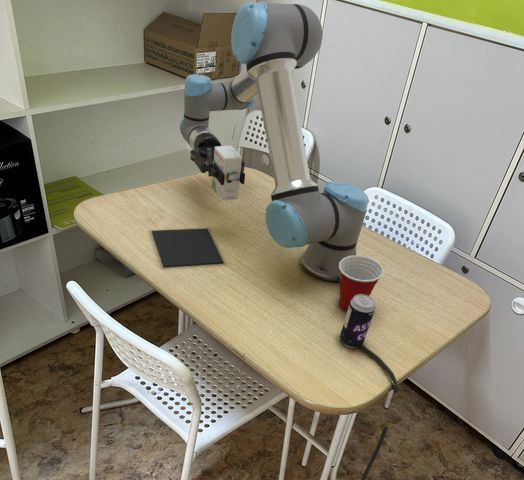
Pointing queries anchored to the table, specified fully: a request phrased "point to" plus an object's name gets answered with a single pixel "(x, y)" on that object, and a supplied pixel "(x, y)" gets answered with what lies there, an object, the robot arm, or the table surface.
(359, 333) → the beverage can
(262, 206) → the table surface
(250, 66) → the robot arm
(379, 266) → the plastic cup
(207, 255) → the mat
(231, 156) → the ink box
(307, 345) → the table surface
